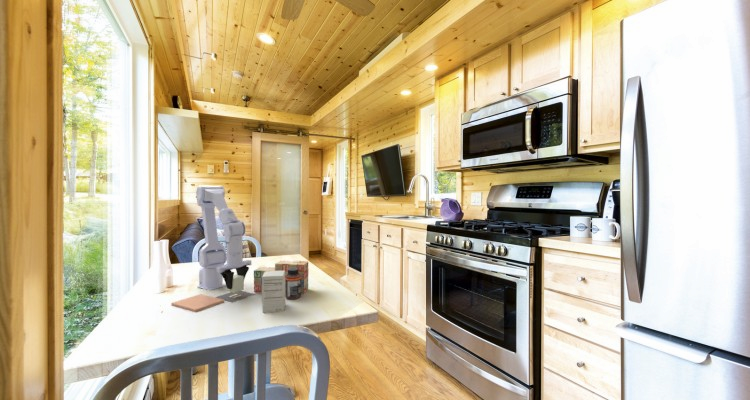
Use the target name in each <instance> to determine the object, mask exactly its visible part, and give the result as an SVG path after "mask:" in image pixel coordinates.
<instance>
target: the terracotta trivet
mask: <svg viewBox="0 0 750 400" xmlns="http://www.w3.org/2000/svg"><path fill="white" fill-rule="evenodd" d="M224 302H225V301H224V300H223V299H219V298H215V297H214V296H211V295H206V294H202V293H200V294H196V295H193V296H190V297H187V298H183V299H179V300H176V301H173V302H171V306H174V307H176V308H181V309H183V310H186V311H187V310H188V311H190V312H193V313H194V312H195V313H196V312H199V311H200V312H201V311H202V310H205V309H208V308H210V307H214V306H217V305H219V304H220V305H221V304H222V303H223V304H224Z"/></svg>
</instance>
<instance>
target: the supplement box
mask: <svg viewBox="0 0 750 400" xmlns="http://www.w3.org/2000/svg"><path fill="white" fill-rule="evenodd" d="M261 297H262V298H261V301H262V303H261V304H262V310H261V311H262V313H275V312H276V313H277V312H278V313H279V312H284V311H285V309H286V308H285V307H286V303H287V302H286V293H285V271H265V272H264V274H263V276H262V292H261Z"/></svg>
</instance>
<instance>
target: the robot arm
mask: <svg viewBox="0 0 750 400" xmlns="http://www.w3.org/2000/svg"><path fill="white" fill-rule="evenodd" d="M195 194H196V195H195V196H196V203H197V206H198V207H200V208H201V214H202V224H203V231H204V233H203V234H204V241H205V242H204V243H205V245H203V246H202V247H201V248H200V249H199V251H198V263H199V266H200V269H199V272H198V282H199V283H198V284H199V285H197V288H199V289H203V290H209V291H212V290H216V289H220V288H223V287H226V286H227V289H232V281H233V275H235V272H234V271H232V270H236V275H241V276H244V280H245V278H246V276H247V273H248V272H249V270H250V267H249V266H252V260H250V259H246V260H243V257H244V254H243V253H244V252H243V236H245V234H246V225H245V223H244V222H243V221H241V220H239V219H238V216H236V214H235V211H234V210H233V209H231V208H229V207H228V203H227V202H226V200H225V195H226V191H225V188H224V186H223V185H203V184H202V185H201V184H199V185H198V186H197V189H196V193H195ZM215 208H216V209H217V211H218V212H219V213H218V215H217V216H218V219H219V220H220V222H221V224H222V226H223V229H222V230H223V231H222V232H223V235H224V241H225V242H226V248H225V246H224V245H222V244H221V243H219V237H218V230H217V220H216V212H215V211H216V210H215ZM223 280H224V282H223Z"/></svg>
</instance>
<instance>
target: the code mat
mask: <svg viewBox="0 0 750 400" xmlns="http://www.w3.org/2000/svg"><path fill="white" fill-rule="evenodd" d="M255 295H256V293H255V292H249V291H248V292H247V291H245V290H241V291H238V292H235V293H232V292H227V293H225V294H221V295H217V296H215V297H214V298H219V299H223V300H224V302H229V303H231V304H233V303H235V302H237V301H241V300H244V299H248V298H249V297H252V296H255Z"/></svg>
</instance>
